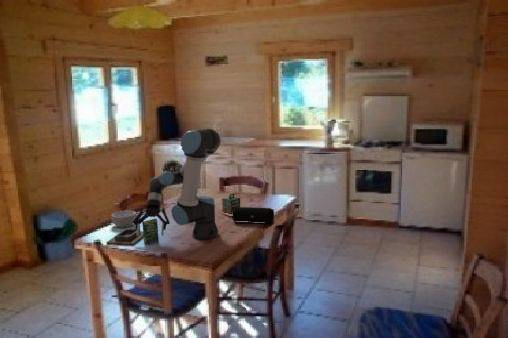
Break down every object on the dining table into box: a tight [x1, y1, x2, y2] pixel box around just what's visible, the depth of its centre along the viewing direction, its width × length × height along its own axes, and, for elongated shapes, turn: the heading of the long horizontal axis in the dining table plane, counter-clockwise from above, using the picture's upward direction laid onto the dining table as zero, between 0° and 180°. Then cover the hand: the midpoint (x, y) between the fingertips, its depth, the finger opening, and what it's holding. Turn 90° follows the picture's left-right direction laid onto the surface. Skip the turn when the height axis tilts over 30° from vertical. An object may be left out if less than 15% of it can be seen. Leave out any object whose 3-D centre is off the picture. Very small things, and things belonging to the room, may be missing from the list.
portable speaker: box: [232, 206, 275, 225], centre depth 279 cm, size 26×10×10 cm, turn 81°
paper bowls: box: [110, 210, 137, 228], centre depth 277 cm, size 15×15×8 cm
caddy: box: [106, 228, 144, 247], centre depth 251 cm, size 16×21×4 cm
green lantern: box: [221, 192, 241, 214], centre depth 298 cm, size 9×9×15 cm
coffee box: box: [141, 218, 160, 245], centre depth 243 cm, size 8×3×13 cm, turn 125°
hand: (149, 235), depth 241 cm, fingers open, 13 cm apart
